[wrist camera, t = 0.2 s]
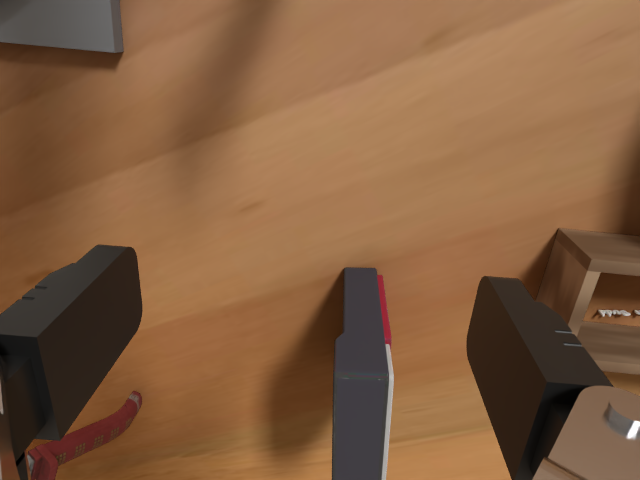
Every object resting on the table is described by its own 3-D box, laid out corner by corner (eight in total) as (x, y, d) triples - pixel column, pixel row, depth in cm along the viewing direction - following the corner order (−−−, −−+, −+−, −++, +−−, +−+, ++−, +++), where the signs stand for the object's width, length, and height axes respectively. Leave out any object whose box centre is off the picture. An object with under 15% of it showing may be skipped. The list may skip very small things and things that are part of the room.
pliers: (33, 558, 31) (25, 588, 31) (149, 390, 50) (142, 410, 51) (-141, 505, 30) (-146, 536, 31) (44, 355, 50) (40, 376, 50)
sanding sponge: (378, 363, 47) (391, 498, 34) (336, 361, 48) (331, 495, 34) (384, 266, 43) (402, 376, 29) (337, 265, 43) (333, 374, 29)
